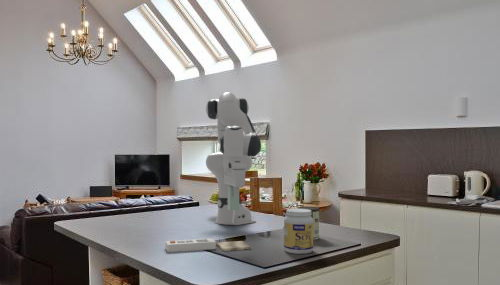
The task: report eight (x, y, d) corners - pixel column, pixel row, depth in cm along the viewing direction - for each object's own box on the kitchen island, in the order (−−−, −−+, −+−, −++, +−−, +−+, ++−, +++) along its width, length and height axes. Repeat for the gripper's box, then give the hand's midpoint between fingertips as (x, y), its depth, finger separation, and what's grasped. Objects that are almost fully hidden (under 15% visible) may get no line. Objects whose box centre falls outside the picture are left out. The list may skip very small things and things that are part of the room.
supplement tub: (292, 255, 182) (292, 213, 182) (278, 249, 193) (278, 208, 193) (319, 253, 187) (319, 211, 187) (303, 246, 198) (304, 207, 198)
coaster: (242, 243, 204) (242, 240, 204) (250, 249, 193) (250, 246, 193) (216, 244, 200) (216, 242, 200) (223, 251, 189) (223, 248, 189)
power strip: (211, 245, 199) (211, 237, 199) (215, 248, 192) (215, 240, 192) (165, 248, 193) (165, 239, 193) (167, 252, 186) (167, 243, 186)
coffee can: (299, 234, 223) (300, 205, 223) (320, 236, 220) (321, 207, 220) (294, 239, 213) (295, 208, 213) (316, 240, 210) (317, 209, 210)
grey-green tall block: (236, 208, 199) (236, 181, 199) (239, 209, 195) (239, 182, 195) (227, 209, 198) (227, 182, 198) (230, 210, 194) (230, 182, 194)
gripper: (220, 162, 205) (220, 193, 205) (233, 165, 186) (232, 199, 186) (234, 162, 207) (233, 193, 207) (247, 165, 188) (247, 198, 188)
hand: (233, 196), depth 196 cm, fingers closed on grey-green tall block, 4 cm apart
